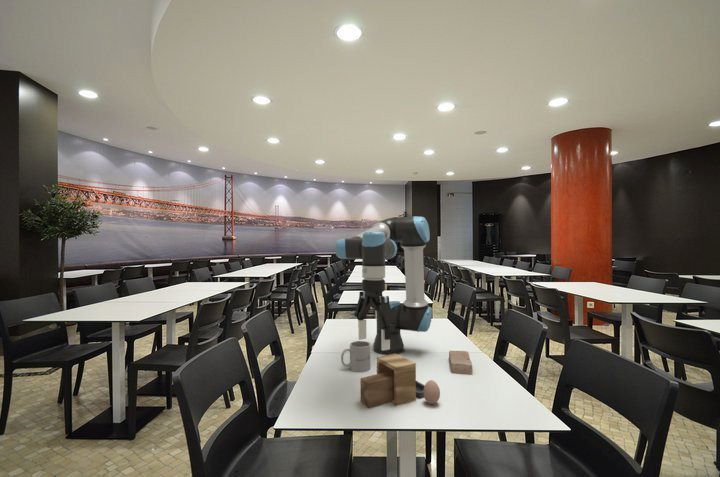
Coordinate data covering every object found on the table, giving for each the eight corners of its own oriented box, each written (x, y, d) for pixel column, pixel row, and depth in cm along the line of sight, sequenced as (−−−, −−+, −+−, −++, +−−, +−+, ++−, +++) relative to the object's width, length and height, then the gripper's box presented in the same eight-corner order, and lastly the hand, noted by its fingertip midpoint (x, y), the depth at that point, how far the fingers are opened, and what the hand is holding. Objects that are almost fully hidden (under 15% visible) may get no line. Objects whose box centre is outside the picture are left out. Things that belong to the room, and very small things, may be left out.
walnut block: (360, 402, 109) (360, 378, 109) (397, 392, 117) (397, 369, 117) (368, 409, 105) (368, 383, 105) (406, 397, 112) (406, 374, 112)
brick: (473, 375, 132) (473, 363, 132) (451, 374, 133) (451, 362, 133) (468, 361, 148) (468, 350, 148) (448, 360, 149) (448, 349, 150)
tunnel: (376, 392, 116) (376, 357, 116) (395, 387, 120) (395, 353, 120) (396, 406, 106) (396, 367, 106) (415, 400, 110) (415, 363, 111)
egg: (440, 408, 105) (440, 384, 105) (423, 406, 106) (423, 383, 106) (439, 400, 110) (439, 377, 110) (423, 398, 111) (423, 376, 111)
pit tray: (398, 386, 121) (398, 381, 121) (411, 383, 124) (411, 378, 124) (418, 398, 111) (418, 393, 111) (432, 394, 114) (432, 389, 114)
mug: (369, 364, 143) (369, 340, 144) (371, 371, 135) (371, 346, 135) (340, 365, 142) (340, 341, 143) (341, 372, 134) (341, 347, 134)
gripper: (345, 276, 118) (344, 336, 117) (386, 283, 96) (386, 357, 96) (363, 275, 122) (362, 333, 121) (406, 281, 100) (406, 352, 100)
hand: (373, 344), depth 109 cm, fingers open, 13 cm apart
